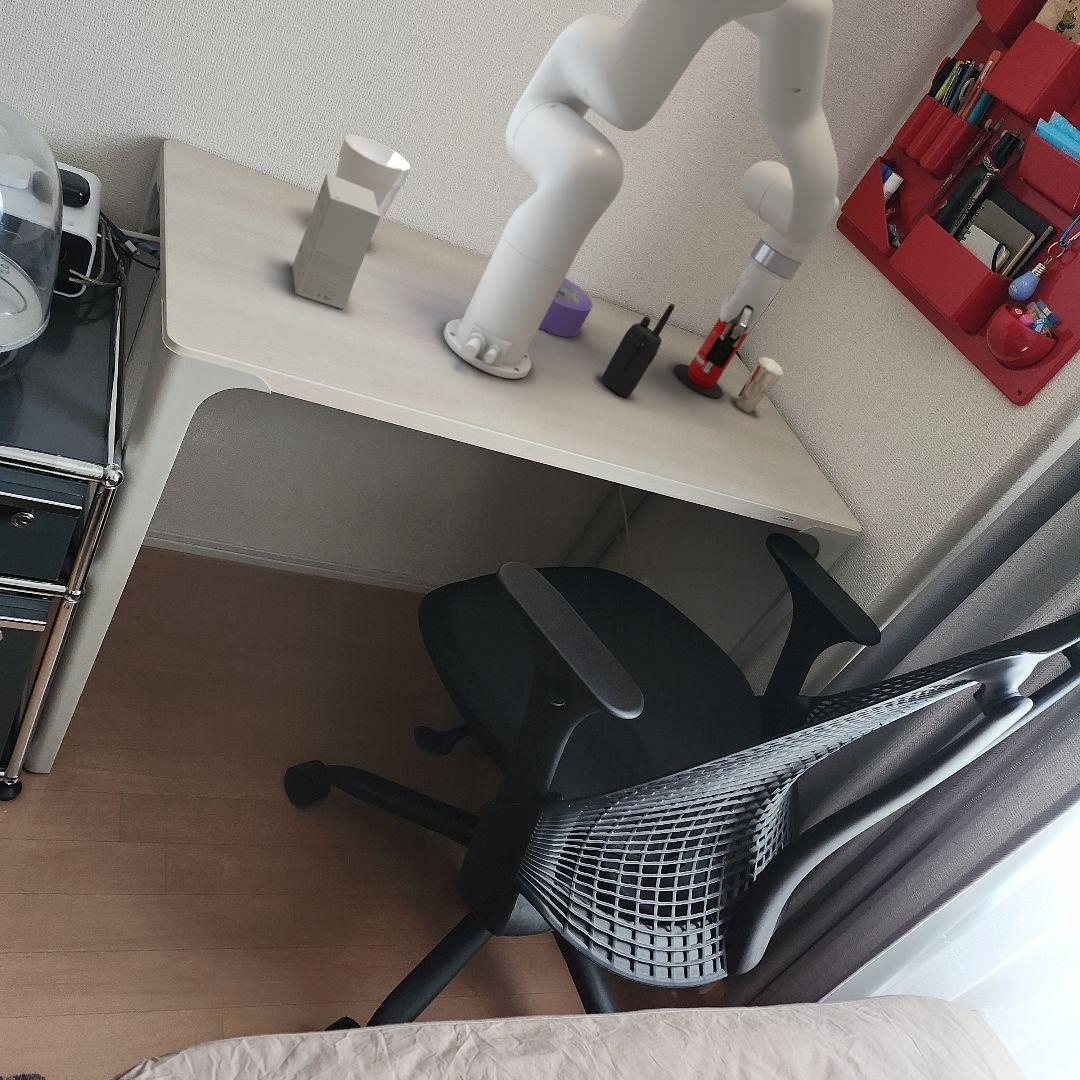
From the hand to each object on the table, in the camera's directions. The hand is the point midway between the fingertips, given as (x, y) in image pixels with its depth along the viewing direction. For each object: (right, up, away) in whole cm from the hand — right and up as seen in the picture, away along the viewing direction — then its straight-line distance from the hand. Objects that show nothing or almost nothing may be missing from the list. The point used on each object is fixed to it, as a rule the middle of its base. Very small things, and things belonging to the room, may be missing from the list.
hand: (714, 353), depth 162 cm
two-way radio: (-18, -8, -16) cm, 25 cm away
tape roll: (-27, +5, -6) cm, 28 cm away
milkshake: (+6, -9, +4) cm, 11 cm away
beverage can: (-2, -4, +3) cm, 5 cm away
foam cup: (-56, +13, -18) cm, 60 cm away
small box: (-56, +2, -35) cm, 66 cm away
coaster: (-2, -4, +3) cm, 6 cm away
